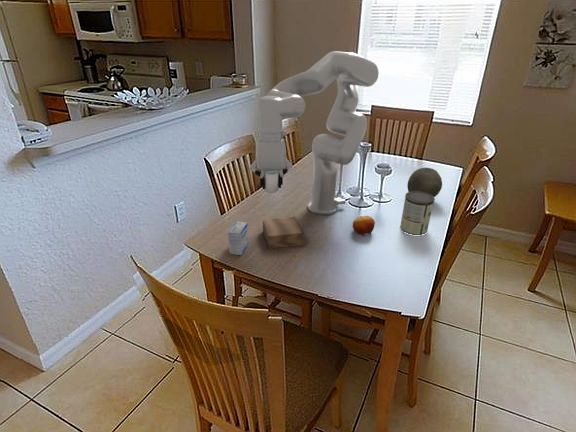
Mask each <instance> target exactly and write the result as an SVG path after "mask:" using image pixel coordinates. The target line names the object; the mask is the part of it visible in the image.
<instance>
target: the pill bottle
mask: <svg viewBox="0 0 576 432" xmlns="http://www.w3.org/2000/svg"><path fill="white" fill-rule="evenodd" d="M264 178H265V189H263V191H264V192H265V193H267V194H275V193H278V191H279V189H280V188H279V170H265V173H264Z"/></svg>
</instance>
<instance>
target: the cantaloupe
mask: <svg viewBox="0 0 576 432" xmlns="http://www.w3.org/2000/svg"><path fill="white" fill-rule="evenodd" d="M442 188H443V179H442V177H441V175H440V173H439V172H438V171H437V170H436V169H434V168H431V167H420V168H418V169H416V170H414V171H413V172H412V173H411V174H410V176H409V178H408V181H407V193H408V192H411V191H421V192H425V193H428V194H430V195H432V196H433V197H434V198H435V197H437V196H439V194H440V192H441V190H442Z"/></svg>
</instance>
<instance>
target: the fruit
mask: <svg viewBox="0 0 576 432" xmlns="http://www.w3.org/2000/svg"><path fill="white" fill-rule="evenodd" d="M375 224H376V222H375V219H374V218H373V217H372V216H370V215H364V216H357V217H356V218H355V219H354V220H353V222H352V229H353V231H354V232H355V234H357V235H360V236H362V237H364V236H365V235H371V236H373V234H372V233H373V231H374V229H375Z"/></svg>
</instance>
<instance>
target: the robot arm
mask: <svg viewBox="0 0 576 432" xmlns="http://www.w3.org/2000/svg"><path fill="white" fill-rule="evenodd" d="M379 74H380V71H379V68H378V66H377V63H375V62H373V61H372V60H369V59H368V58H366V57H365V56H362V55H360V54H357V53H355V52H352V51H351V52H350V51H349V52H346V51H339V50H334V51H330V52H328V53H327V54H325V55H324V56H323V57H322V58H321V59H319V60H318V61H317V62H316V63H314V64H313V65H312V66H311V67H310V68H309V69H307V70H306V71H304V72H299V73H297V74H295V75H292V76H290V77H288V78H286V79H282V81H280V82H279V83H277V84H276V85H275V86H273V87H272V88H271V89H270V90H269V92H268V93H267V94H266V95H265V96H261V97H260V98H259V99H258V131H259V133H258V134H259V135H258V136H259V137H258V139H256V143H255V159H254V161H252V163H251V165H250V166H249V170H250V172H253V173H254V174H255V175H256V176H258V178H259V185H260V187H262V190H264V189H265V178H264V173H265V170H279V189H281V188H282V185H284V184H283V183H284V182H283V181H284V180H283V178H284V177H285V175H286V174H287V173H288V172H289V171H290V170H291V169H292V168H294V167H293V165H292V163H291V162H290V161H289V159H288V158H287V149H286V142H285V139H284V137H287V136H288V132H287V131H284V130H283V120H284V119H285V120H286V119H296V118H299V117H301V116H302V115H303V114H304V112H305V110H306V102H305V100H304V98H303V97H302V96H311V95H316V94H320V93H322V92H323V91H324V90H325V89H327V87H329V85H331V84H332V83H333V82H335V80H336V84H337V96H336V98H335V101H334V104H333V105H332V108H331V110H330V113H329V114H328V117H327V119H326V122H325V124H326V125H325V127H326V129H327V130H328V131H329V132H331V133H332V134H336V135H340V136H344V138H343V137H339V136H336V135H332V134H330V133H329V134H327V133H321V134H320V133H319V134H317V135H316V136H315V137H314V139H313V141H312V143H311V150H312V151H311V152H312V160H313V170H312V171H313V173H312V189H311V201H310V202H308V203H307V209H308V211H310V212H311V213H313V214H315V215H323V216H324V215H325V216H326V215H332V214H334V213H336V212H337V211H338V208H339V207H338V206H339V205H344V204H346V199H342V198H341V197H337V198H336V197H335V196H336V189H337V188H336V186H337V175H338V166H337V164H339V165H344V166H346V165H349V164H350V163H351V162H352V161H353V160H354V158H355V156H356V154H357V152H358V150H359V147H360V145H361V143H362V141H363V138H364V137H365V133H366V132H367V127H368V121H367V120H368V118H367V117H366V116H365V114H364V113H360V112H359V111H356V109H357V107H358V104H359V94H358V91H357V88H356V86H360V87H363V88H365V87H366V88H368V87H369V88H370V87H371V86H374V84H376V83H377V81H378V78H379Z"/></svg>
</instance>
